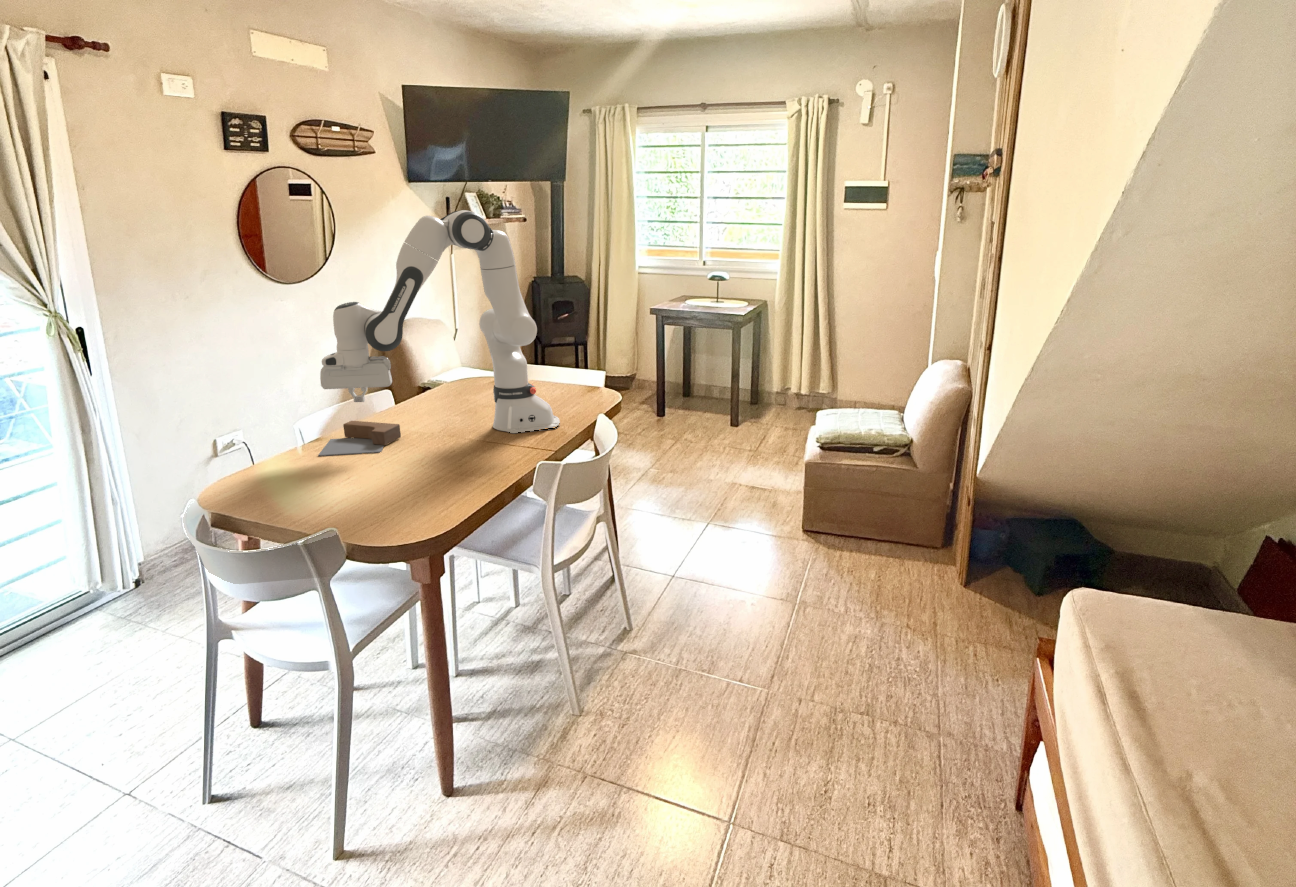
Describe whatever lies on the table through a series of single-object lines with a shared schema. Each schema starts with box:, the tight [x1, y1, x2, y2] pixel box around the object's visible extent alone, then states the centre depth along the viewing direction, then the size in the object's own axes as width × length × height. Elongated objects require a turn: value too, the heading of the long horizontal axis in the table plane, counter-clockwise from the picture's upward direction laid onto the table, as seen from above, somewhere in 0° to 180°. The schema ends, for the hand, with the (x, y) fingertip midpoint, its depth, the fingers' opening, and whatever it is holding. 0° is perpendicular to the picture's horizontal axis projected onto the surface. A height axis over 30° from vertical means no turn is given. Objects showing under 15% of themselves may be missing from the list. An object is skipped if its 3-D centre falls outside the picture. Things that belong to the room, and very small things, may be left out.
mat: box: [317, 437, 385, 457], centre depth 231 cm, size 18×16×1 cm
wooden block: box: [342, 420, 402, 446], centre depth 236 cm, size 9×4×18 cm
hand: (359, 401), depth 227 cm, fingers closed
